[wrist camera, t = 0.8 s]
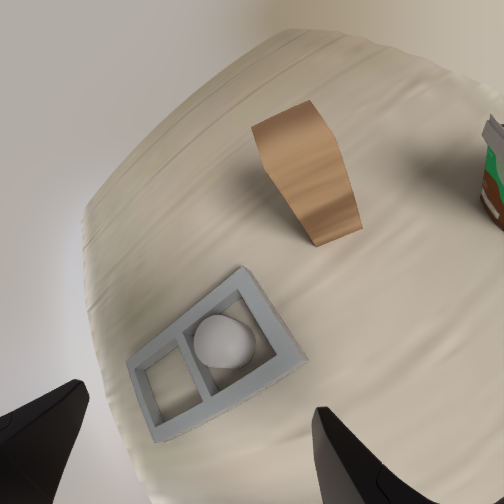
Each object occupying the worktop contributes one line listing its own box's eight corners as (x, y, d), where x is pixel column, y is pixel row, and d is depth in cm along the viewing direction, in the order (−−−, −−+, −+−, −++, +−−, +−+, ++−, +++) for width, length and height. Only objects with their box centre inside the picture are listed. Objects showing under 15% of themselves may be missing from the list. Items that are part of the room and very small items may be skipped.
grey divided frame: (308, 360, 20) (297, 358, 18) (165, 441, 23) (144, 444, 20) (251, 271, 26) (235, 260, 24) (136, 363, 29) (116, 359, 26)
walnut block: (362, 228, 23) (335, 136, 14) (316, 247, 24) (263, 168, 16) (344, 190, 25) (309, 99, 16) (302, 208, 27) (250, 127, 18)
